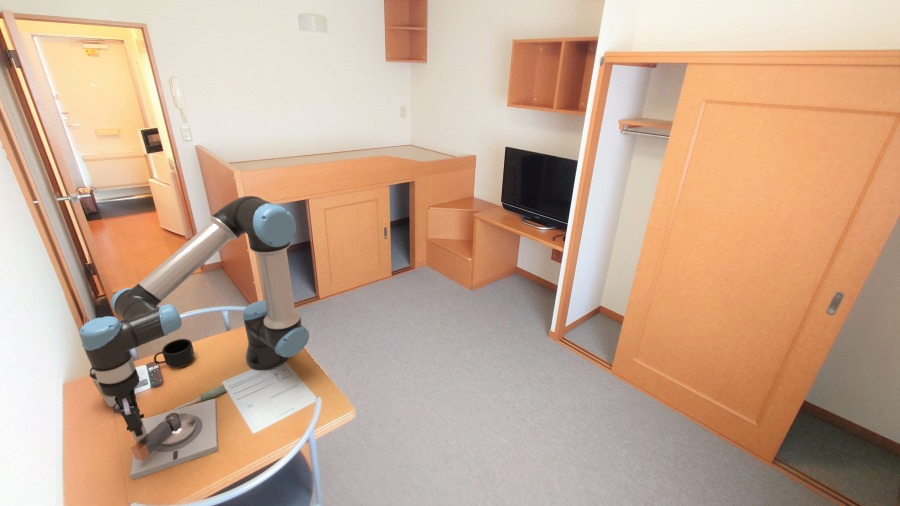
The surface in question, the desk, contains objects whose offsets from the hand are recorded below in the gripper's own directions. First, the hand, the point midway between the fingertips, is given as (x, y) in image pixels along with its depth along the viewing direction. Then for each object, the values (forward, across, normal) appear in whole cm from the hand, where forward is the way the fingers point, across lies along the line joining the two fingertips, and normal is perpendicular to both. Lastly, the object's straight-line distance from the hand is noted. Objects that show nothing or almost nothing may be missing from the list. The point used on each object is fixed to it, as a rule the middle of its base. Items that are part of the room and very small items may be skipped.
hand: (142, 440), depth 110 cm
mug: (+7, -39, +12) cm, 41 cm away
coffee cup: (+7, -30, -5) cm, 31 cm away
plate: (+6, -2, +8) cm, 10 cm away
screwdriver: (+5, -15, +16) cm, 23 cm away
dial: (+4, 0, +5) cm, 6 cm away
